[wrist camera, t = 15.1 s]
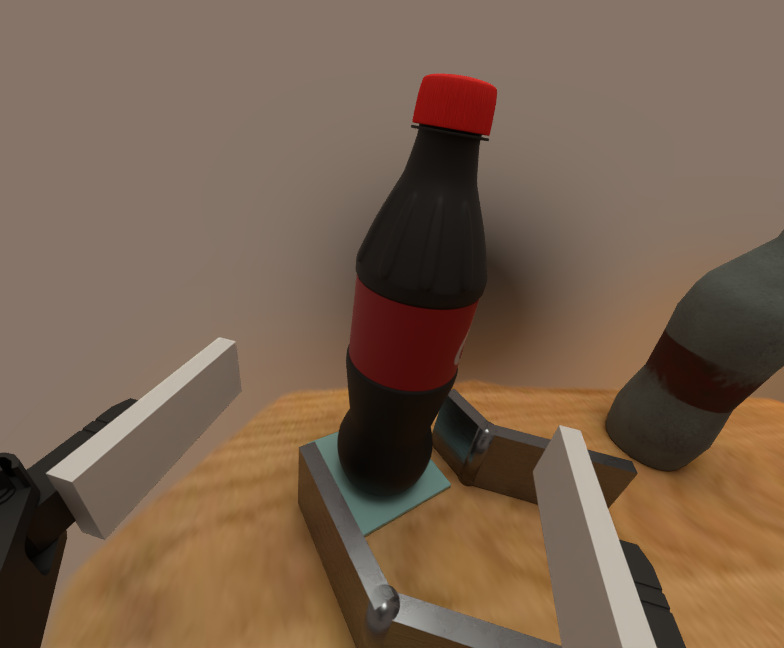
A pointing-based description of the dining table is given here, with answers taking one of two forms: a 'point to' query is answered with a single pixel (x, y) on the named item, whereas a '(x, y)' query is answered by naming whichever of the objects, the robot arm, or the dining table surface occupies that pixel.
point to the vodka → (705, 361)
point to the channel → (475, 468)
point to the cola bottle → (417, 290)
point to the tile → (376, 508)
